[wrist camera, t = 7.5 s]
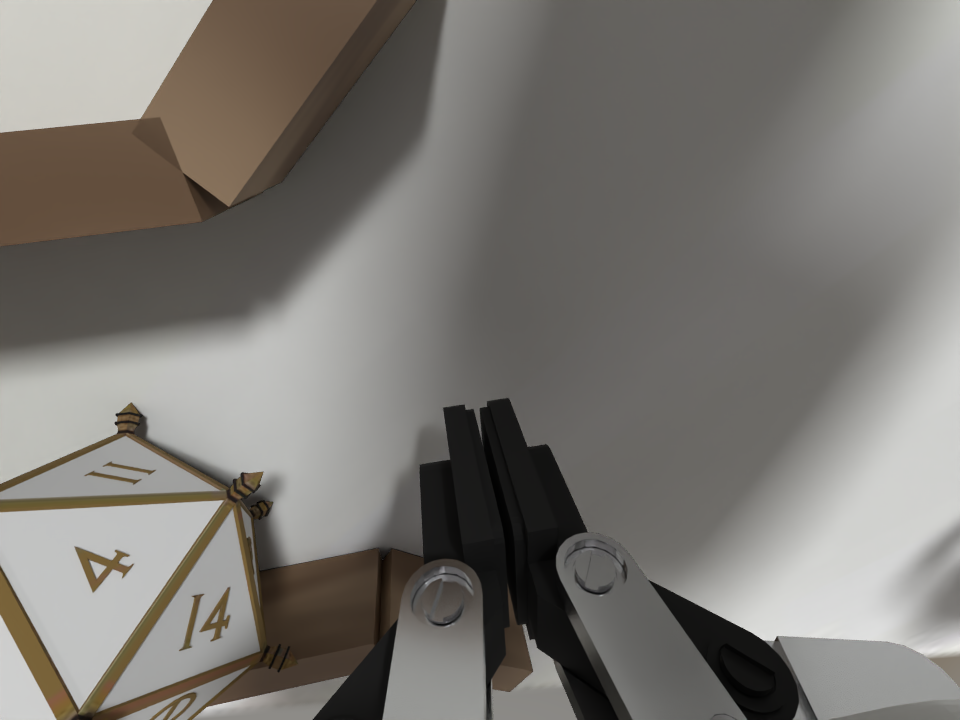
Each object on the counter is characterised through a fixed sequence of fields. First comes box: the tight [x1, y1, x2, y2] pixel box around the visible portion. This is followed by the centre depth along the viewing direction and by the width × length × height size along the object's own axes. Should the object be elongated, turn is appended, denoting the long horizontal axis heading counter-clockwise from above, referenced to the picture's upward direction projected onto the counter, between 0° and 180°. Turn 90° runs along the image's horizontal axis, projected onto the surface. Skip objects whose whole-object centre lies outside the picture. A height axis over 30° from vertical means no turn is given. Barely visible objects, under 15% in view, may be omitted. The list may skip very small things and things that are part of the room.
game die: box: [0, 403, 299, 720], centre depth 10 cm, size 9×8×10 cm
